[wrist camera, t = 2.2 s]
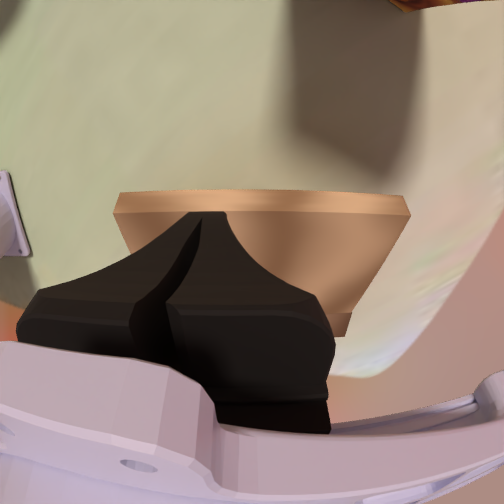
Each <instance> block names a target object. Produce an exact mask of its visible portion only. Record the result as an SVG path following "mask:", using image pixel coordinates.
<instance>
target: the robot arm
mask: <svg viewBox="0 0 504 504" xmlns="http://www.w3.org/2000/svg"><path fill="white" fill-rule="evenodd" d="M0 176H1V178H0V259H1V258H2V257H3V256H28V255H29V254H30V248H29V245H28V242H27V239H26V236H25V233H24V230H23V226H22V223H21V220H20V216H19V213H18V209H17V206H16V202H15V198H14V194H13V190H12V186H11V181H10V177H9V173H8V172H7V171H6V170H2V171H0ZM21 250H22V251H21ZM16 334H17V338H18V341H3V342H0V504H422V503H425V502H427V501H430V500H433V499H435V498H438V497H440V496H442V495H445V494H447V493H449V492H452V491H454V490H456V489H458V488H461V487H462V486H465V485H467V484H469V483H471V482H473V481H475V480H477V479H479V478H481V477H483V476H485V475H487V474H489V473H491V472H493V471H494V470H496V469H498V468H499V467H501V466H502V465H504V370H502V371H499V372H496V373H493V374H491V375H489V376H488V377H486V378H485V379H484V380H483V381H482V382H481V383H480V384H479V385H478V387H477V388H476V389H475V391H474V393H472V394H469V395H466V396H463V397H460V398H457V399H453V400H449V401H446V402H442V403H439V404H435V405H431V406H427V407H423V408H419V409H415V410H411V411H406V412H401V413H397V414H391V415H386V416H381V417H375V418H369V419H363V420H357V421H350V422H342V423H334V424H331V423H330V418H329V413H328V407H327V402H326V400H327V399H328V389H327V384H326V380H327V377H328V374H329V371H330V368H331V365H332V362H333V358H334V355H335V347H336V343H335V340H334V335H333V331H332V328H331V326H330V323H329V321H328V319H327V317H326V315H325V312H324V310H323V309H322V307H321V305H320V303H319V301H318V299H317V297H316V296H315V295H314V294H311V293H309V292H307V291H304V290H302V289H300V288H297V287H295V286H293V285H290V284H289V283H287V282H285V281H283V280H281V279H280V278H278V277H276V276H275V275H273V274H272V273H270V272H269V271H267V270H266V269H265V268H263V267H262V266H261V265H259V264H258V263H257V262H256V261H255V260H254V259H253V258H252V257H251V256H250V255H249V254H248V252H247V251H246V250H245V249H244V248H243V246H242V245H241V244H240V242H239V241H238V239H237V238H236V236H235V234H234V233H233V231H232V229H231V227H230V225H229V223H228V220H227V214H226V213H225V212H224V211H197V212H188V213H187V214H185V215H184V216H183V217H182V218H180V219H179V220H178V221H177V222H176V223H174V224H173V225H172V226H171V227H169V228H168V229H167V230H166V231H165V232H163V233H162V234H161V235H159V236H158V237H156V238H155V239H154V240H152V241H151V242H150V243H148V244H147V245H145V246H144V247H142V248H141V249H139V250H138V251H136V252H134V253H133V254H131V255H129V256H128V257H126V258H124V259H122V260H120V261H118V262H116V263H114V264H112V265H110V266H108V267H106V268H103V269H101V270H99V271H97V272H94V273H92V274H89V275H87V276H84V277H81V278H78V279H75V280H72V281H69V282H66V283H62V284H58V285H55V286H51V287H47V288H43V289H39V290H38V292H37V293H36V294H35V296H34V297H33V299H32V300H31V302H30V303H29V305H28V307H27V308H26V310H25V311H24V313H23V314H22V316H21V318H20V319H19V321H18V323H17V327H16Z"/></svg>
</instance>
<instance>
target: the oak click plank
mask: <svg viewBox="0 0 504 504" xmlns="http://www.w3.org/2000/svg"><path fill="white" fill-rule="evenodd" d="M197 211H224V212H225V213H226V214H227V220H228V223H229V225H230V227H231V229H232V231H233V233H234V234H235V236H236V238H237V239H238V241H239V242H240V244H241V245H242V246H243V248H244V249H245V250H246V251H247V252H248V254H249V255H250V256H251V257H252V258H253V259H254V260H255V261H256V262H257V263H258V264H259V265H261V266H262V267H263V268H265V269H266V270H267V271H269V272H270V273H272V274H273V275H275V276H276V277H278V278H280V279H281V280H283V281H285V282H287V283H289V284H290V285H293V286H295V287H297V288H300V289H302V290H304V291H307V292H309V293H311V294H314V295H315V296H316V297H317V299H318V301H319V303H320V305H321V307H322V309H323V310H324V312H325V314H333V313H351V312H352V310H353V309H354V307H355V306H356V304H357V303H358V301H359V300H360V298H361V297H362V295H363V294H364V292H365V291H366V289H367V288H368V286H369V285H370V283H371V282H372V280H373V279H374V277H375V276H376V274H377V272H378V271H379V269H380V268H381V266H382V264H383V263H384V261H385V260H386V258H387V256H388V255H389V253H390V251H391V250H392V248H393V246H394V245H395V243H396V241H397V240H398V238H399V236H400V234H401V233H402V231H403V229H404V227H405V226H406V224H407V222H408V220H409V219H410V217H411V214H410V212H409V209H408V207H407V205H406V202H405V200H404V198H403V196H397V195H384V194H368V193H351V192H330V191H303V190H173V191H146V192H125V193H120V194H119V197H118V200H117V203H116V206H115V209H114V211H113V215H114V217H115V220H116V222H117V224H118V227H119V229H120V231H121V233H122V236H123V238H124V240H125V242H126V244H127V247H128V249H129V251H130V253H131V254H133V253H134V252H136V251H138V250H139V249H141V248H142V247H144V246H145V245H147V244H148V243H150V242H151V241H152V240H154V239H155V238H156V237H158V236H159V235H161V234H162V233H163V232H165V231H166V230H167V229H168V228H169V227H171V226H172V225H173V224H174V223H176V222H177V221H178V220H179V219H180V218H182V217H183V216H184V215H185V214H187V213H188V212H197Z"/></svg>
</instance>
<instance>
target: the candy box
mask: <svg viewBox="0 0 504 504" xmlns="http://www.w3.org/2000/svg"><path fill="white" fill-rule="evenodd" d="M389 1H390V2H392V3H393V4H394V5H396V6H397V7H399V8H400V9H401V10H402V11H404V12H411V11H415V10H420V9H425V8H430V7H436V6H443V5H452V4H457V3H464V2H466V3H467V2H475V1H493V0H389Z"/></svg>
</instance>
